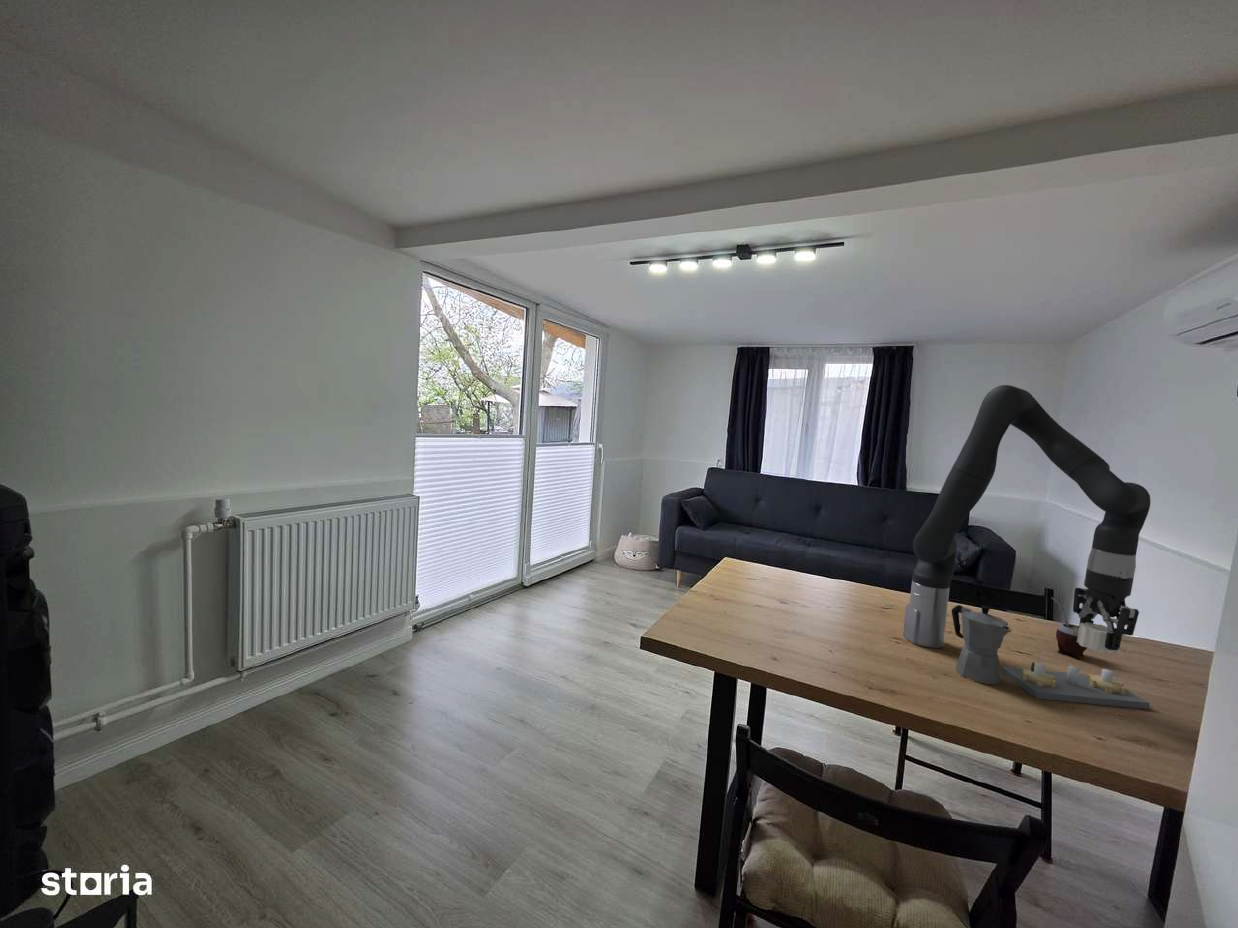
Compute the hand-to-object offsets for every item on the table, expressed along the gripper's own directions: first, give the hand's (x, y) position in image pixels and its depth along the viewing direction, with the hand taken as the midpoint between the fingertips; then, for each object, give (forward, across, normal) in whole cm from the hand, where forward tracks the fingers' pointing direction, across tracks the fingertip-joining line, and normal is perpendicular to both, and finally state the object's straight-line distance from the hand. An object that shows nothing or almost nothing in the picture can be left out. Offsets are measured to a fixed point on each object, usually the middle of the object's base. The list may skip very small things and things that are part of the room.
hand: (1097, 641), depth 112 cm
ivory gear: (+1, 0, 0) cm, 1 cm away
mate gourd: (+15, -29, +17) cm, 37 cm away
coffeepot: (+16, -10, -19) cm, 26 cm away
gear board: (+15, -6, +1) cm, 16 cm away
